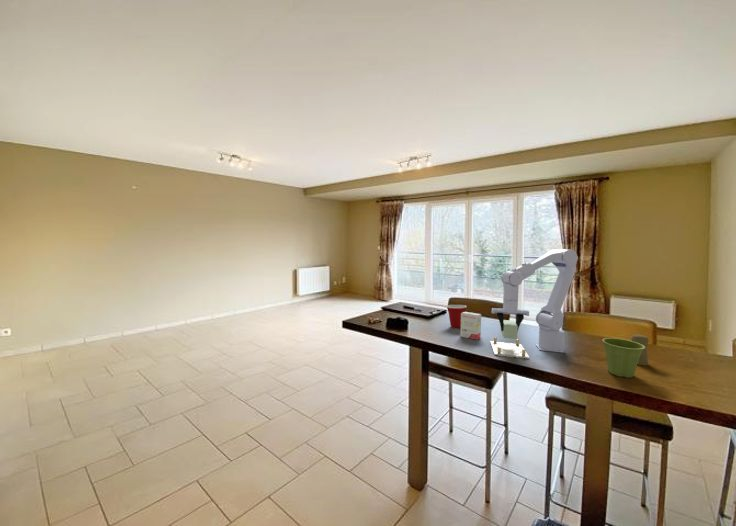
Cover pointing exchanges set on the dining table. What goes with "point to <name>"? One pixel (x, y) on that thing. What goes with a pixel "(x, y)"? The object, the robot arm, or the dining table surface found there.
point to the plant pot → (622, 356)
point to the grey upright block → (643, 357)
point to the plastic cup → (455, 314)
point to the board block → (509, 329)
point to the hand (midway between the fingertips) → (509, 331)
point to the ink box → (470, 325)
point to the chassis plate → (509, 349)
